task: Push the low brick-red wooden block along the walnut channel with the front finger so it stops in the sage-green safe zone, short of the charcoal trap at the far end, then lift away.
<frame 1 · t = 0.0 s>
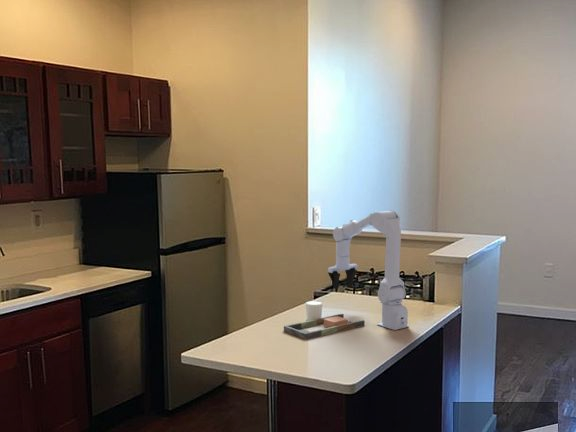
hand: (342, 287, 255), 10 cm above the countertop, tool pointing down, fingers open, 7 cm apart
brick block: (335, 326, 234), resting in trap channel
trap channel: (325, 328, 231), on the countertop
shot glass: (314, 320, 243), on the countertop
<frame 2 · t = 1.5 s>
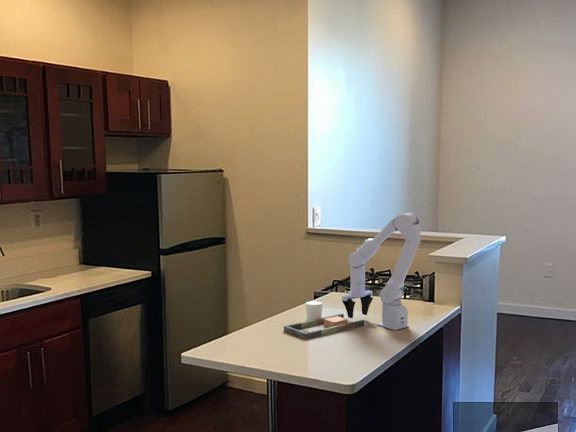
hand: (357, 316, 240), 2 cm above the countertop, tool pointing down, fingers open, 7 cm apart
nothing on the countertop moved.
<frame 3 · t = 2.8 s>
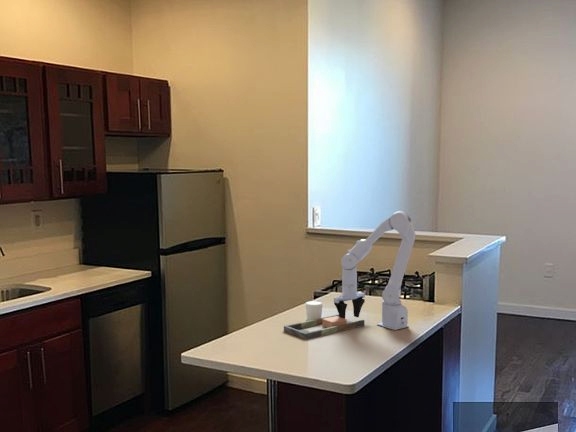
hand: (349, 318, 238), 2 cm above the countertop, tool pointing down, fingers open, 7 cm apart
brick block: (334, 326, 233), resting in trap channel, touching gripper
everything else where it was.
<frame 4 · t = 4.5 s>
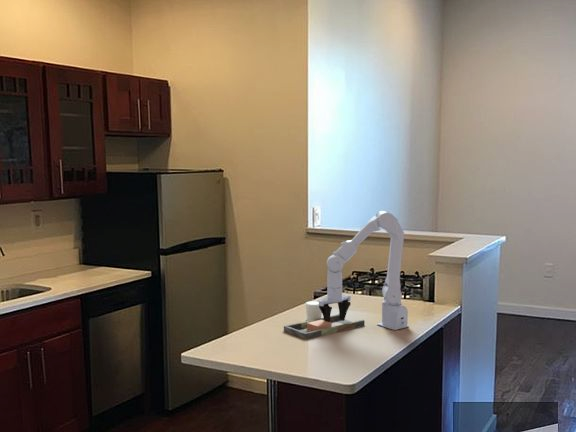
hand: (334, 321, 233), 2 cm above the countertop, tool pointing down, fingers open, 7 cm apart
brick block: (319, 330, 229), resting in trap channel
everything else where it was.
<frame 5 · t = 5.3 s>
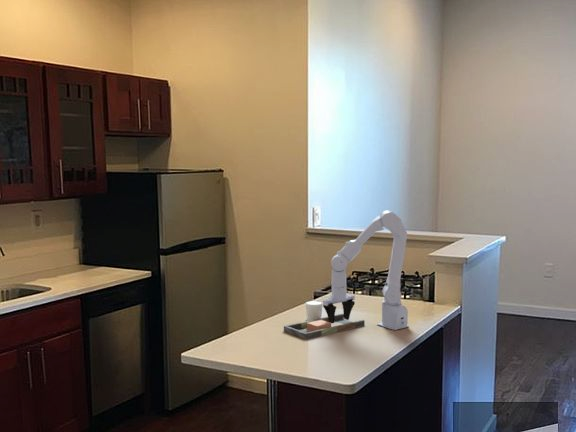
hand: (339, 321, 235), 2 cm above the countertop, tool pointing down, fingers open, 7 cm apart
nothing on the countertop moved.
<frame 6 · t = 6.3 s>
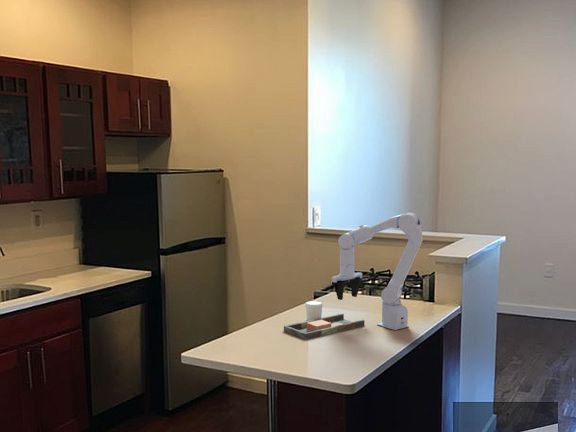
hand: (347, 298, 239), 9 cm above the countertop, tool pointing down, fingers open, 7 cm apart
nothing on the countertop moved.
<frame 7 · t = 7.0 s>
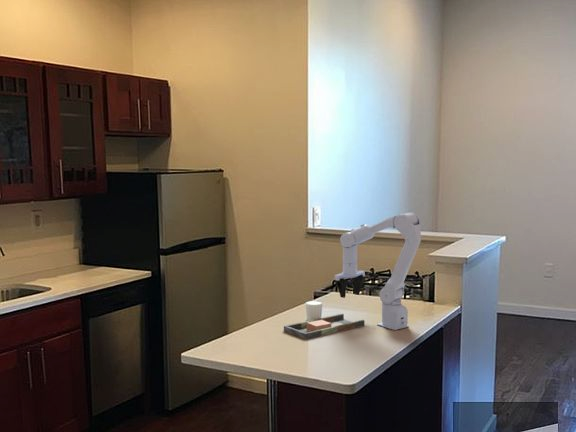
hand: (349, 295, 243), 9 cm above the countertop, tool pointing down, fingers open, 7 cm apart
nothing on the countertop moved.
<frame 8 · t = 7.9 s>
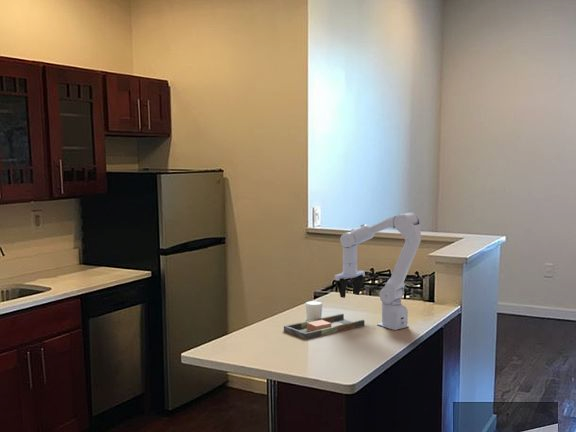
hand: (349, 295, 243), 9 cm above the countertop, tool pointing down, fingers open, 7 cm apart
nothing on the countertop moved.
at the end: brick block inside the target area (0.2 cm from its centre), resting in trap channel; brick block tilted 0°; brick block moved 8.5 cm from its start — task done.
